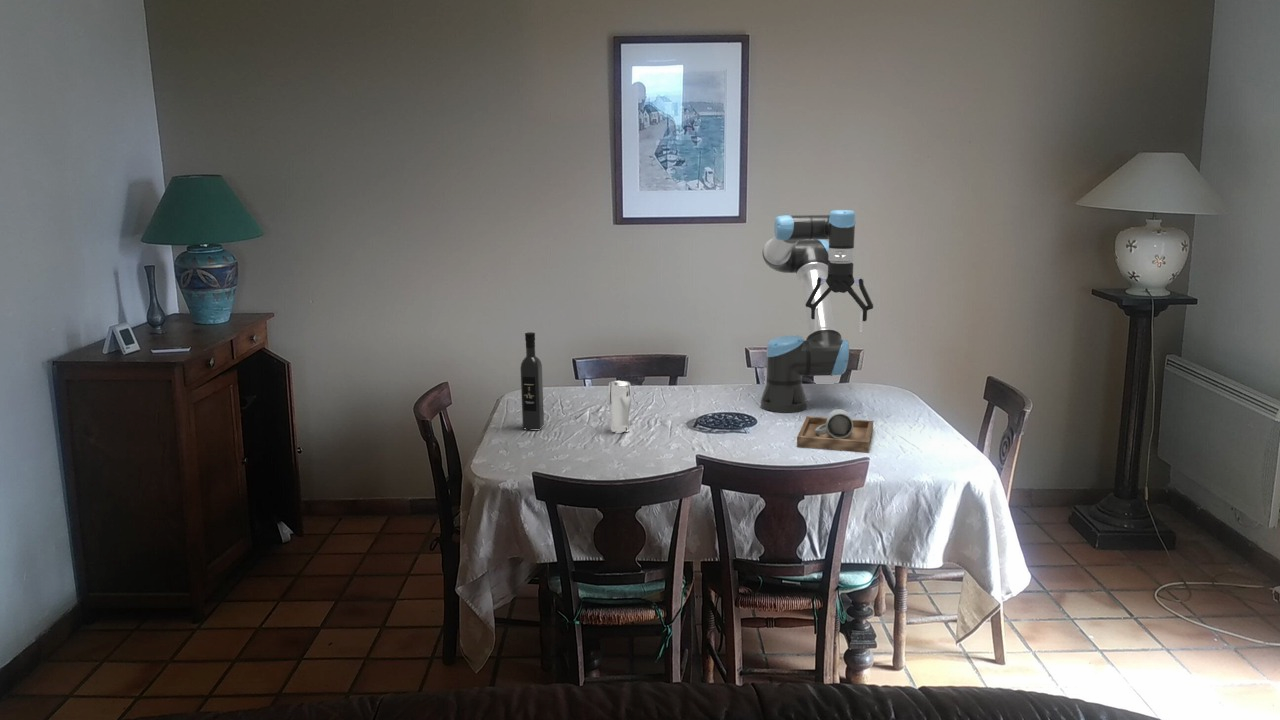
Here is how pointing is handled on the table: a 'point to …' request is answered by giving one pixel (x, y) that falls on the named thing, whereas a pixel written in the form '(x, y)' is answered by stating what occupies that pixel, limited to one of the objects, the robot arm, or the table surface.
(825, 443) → the walnut tray
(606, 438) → the table surface
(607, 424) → the table surface
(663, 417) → the table surface
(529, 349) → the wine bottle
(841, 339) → the robot arm
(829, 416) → the ceramic mug
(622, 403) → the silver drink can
